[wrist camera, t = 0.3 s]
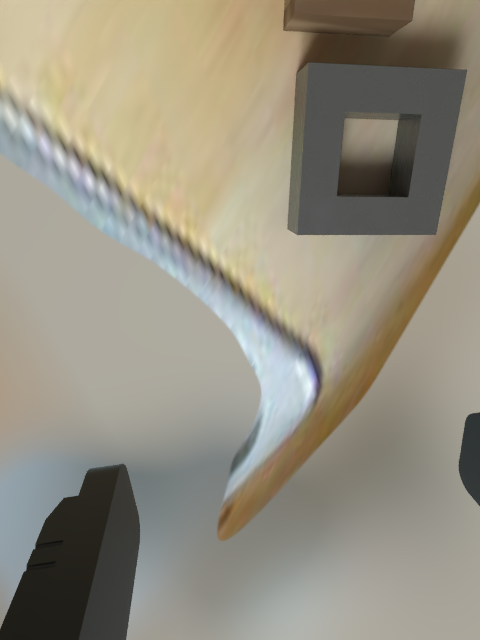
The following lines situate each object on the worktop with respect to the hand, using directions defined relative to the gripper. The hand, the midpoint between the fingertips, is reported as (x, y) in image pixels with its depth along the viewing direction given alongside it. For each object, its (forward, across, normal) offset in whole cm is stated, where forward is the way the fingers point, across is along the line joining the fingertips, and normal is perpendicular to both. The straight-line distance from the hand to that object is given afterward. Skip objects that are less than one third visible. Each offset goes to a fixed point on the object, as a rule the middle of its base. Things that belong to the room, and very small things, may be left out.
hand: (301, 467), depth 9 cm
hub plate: (+28, -13, -6) cm, 31 cm away
